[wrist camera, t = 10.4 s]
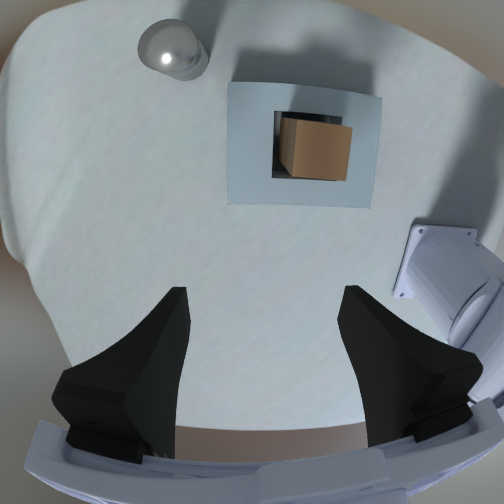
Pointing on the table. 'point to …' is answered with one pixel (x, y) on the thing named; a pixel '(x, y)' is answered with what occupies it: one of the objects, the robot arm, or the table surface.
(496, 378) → the robot arm
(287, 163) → the square bit
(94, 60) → the table surface
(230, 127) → the socket block
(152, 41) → the cylinder
